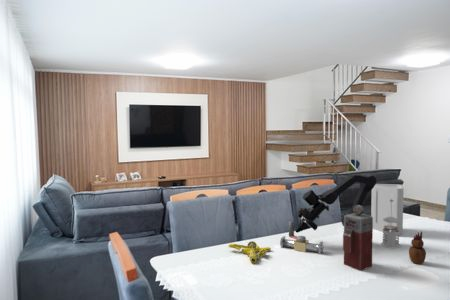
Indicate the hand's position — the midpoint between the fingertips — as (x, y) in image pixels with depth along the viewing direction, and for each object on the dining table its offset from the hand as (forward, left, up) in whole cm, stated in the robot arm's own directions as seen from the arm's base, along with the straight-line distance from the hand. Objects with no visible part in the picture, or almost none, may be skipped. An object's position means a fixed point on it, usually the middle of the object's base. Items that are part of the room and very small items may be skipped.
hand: (296, 232), depth 181 cm
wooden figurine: (-57, -8, -7) cm, 58 cm away
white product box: (-40, -57, -7) cm, 70 cm away
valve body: (-5, +5, -7) cm, 10 cm away
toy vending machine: (-34, +11, -7) cm, 36 cm away
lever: (-2, +4, -3) cm, 5 cm away
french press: (-43, -29, -7) cm, 52 cm away
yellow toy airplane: (+13, +27, -8) cm, 31 cm away
